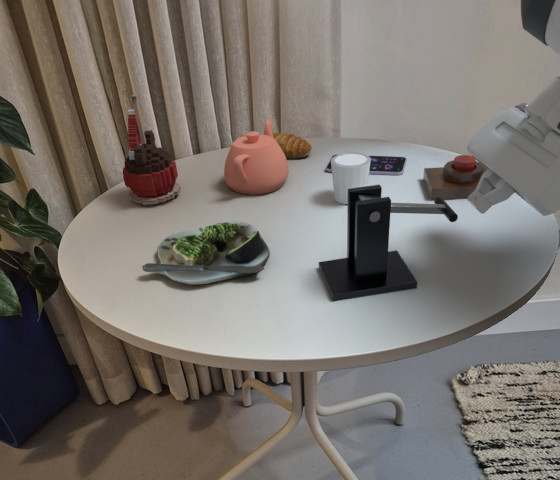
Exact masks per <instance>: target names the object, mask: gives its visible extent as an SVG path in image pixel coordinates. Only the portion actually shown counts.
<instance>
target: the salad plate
mask: <svg viewBox="0 0 560 480" xmlns="http://www.w3.org/2000/svg"><path fill="white" fill-rule="evenodd" d="M156 253H157V258H158V261H159V263H154V262H151V263H150V262H149V263H145V264H143V265H142V271H143V272H146V273H152V274H153V273H154V274H158V275H162V276H165V277H167V278H168V279H170V280H171V281H174V282H178V283H181V284H186V285H206V284H211V283H217V282H222V281H227V280H228V281H229V280H234V279H239V278H243V277H247V276H251V275H253V274H255V273H259V272H261V271H264V270H265V267H264V266H265V265H266V263H267V261H268V260H269V259H270V255H271V253H270V248H269V246H268V245H267V243H266V241H265V240H264V238H263V237H262V235H261V233H260V232H259V230H257V229H256V227H255V226H254V225H252V224H251V223H249V222H244V221H236V220H229V221H228V220H227V221H221V222H217V223H215V224H209V225H205V226H203V227H198V228H194V229H188V230H183V231H177V232H176V233H172V234H170V235H168V236H166V237H165V238H164V239H163V240H161V241H160V242H159V244H158V246H157V248H156Z"/></svg>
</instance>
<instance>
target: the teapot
mask: <svg viewBox="0 0 560 480" xmlns="http://www.w3.org/2000/svg"><path fill="white" fill-rule="evenodd" d="M273 122H274V120H273V118H272V117H271V118H268V119H267V120H266V121H265V125H264V131H263V134H261V133H260V132H259V131H256V130H252V131H248V132H246V133H245V135H243V136H240V137H238V138H236V139H235V140H234V141H233V142H232V144H231V145H230V148H229V151H228V153H227V155H226V159H225V162H224V168H223V177H224V181H225V183H226V184H227V186H228V187H229V188H230V189H231V190H232V191H234V192H236V193H238V194H242V195H263V194H265V195H266V194H270V193H273V192H275V191H277V190H279V189H280V188H281V187H282V186H283V185H284V184H285V182H286V181H287V179H288V177H289V173H290V169H289V164H288V160H287V158H286V157H285V155H284V153H283V151H282V149H281V148H280V146H279V145H278V143H277V142H276V140H275V139H274V138H273Z"/></svg>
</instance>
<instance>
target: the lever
mask: <svg viewBox="0 0 560 480" xmlns="http://www.w3.org/2000/svg"><path fill="white" fill-rule="evenodd" d="M377 198H379V196H378V195H358V197H357V201H363V200H370V199H377ZM433 202H434V203H418V202H417V203H415V202H414V203H412V202H391V211H390V214H417V215H418V214H420V215H421V214H422V215H423V214H424V215H443V216H444V217H445V218H446V219H447V221H449V222H450V223H455V222H457V220H458V218H459V215H458V214H457V213H456V212H455V210H454V209H453V208H452V207H451V206H450V205H449V204H448V203H447V202H446V200H443V199H442V198H441V197H437V198H436V199H435V200H434V201H433Z"/></svg>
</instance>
